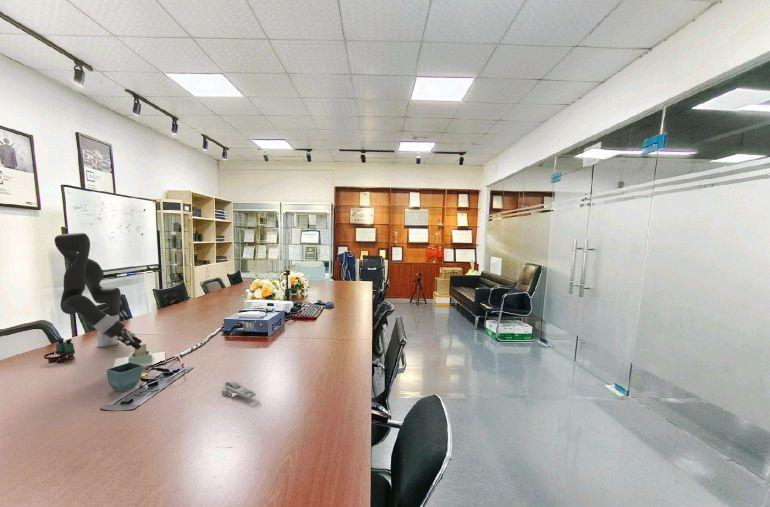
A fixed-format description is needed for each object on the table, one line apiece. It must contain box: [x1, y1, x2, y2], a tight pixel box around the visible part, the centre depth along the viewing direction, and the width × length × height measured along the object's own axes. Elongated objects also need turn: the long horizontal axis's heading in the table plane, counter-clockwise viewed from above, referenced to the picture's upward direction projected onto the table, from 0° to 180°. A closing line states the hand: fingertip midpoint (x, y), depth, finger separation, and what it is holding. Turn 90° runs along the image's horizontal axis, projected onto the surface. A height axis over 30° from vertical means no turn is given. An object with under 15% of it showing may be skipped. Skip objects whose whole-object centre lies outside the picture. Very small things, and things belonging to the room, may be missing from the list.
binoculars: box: [43, 337, 76, 364], centre depth 150 cm, size 9×11×10 cm
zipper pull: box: [221, 380, 257, 400], centre depth 122 cm, size 8×18×4 cm, turn 57°
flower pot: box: [106, 362, 144, 393], centre depth 125 cm, size 9×9×9 cm
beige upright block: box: [134, 343, 147, 356], centre depth 151 cm, size 4×4×8 cm
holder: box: [112, 349, 166, 369], centre depth 151 cm, size 18×20×4 cm
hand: (139, 345), depth 151 cm, fingers open, 8 cm apart
